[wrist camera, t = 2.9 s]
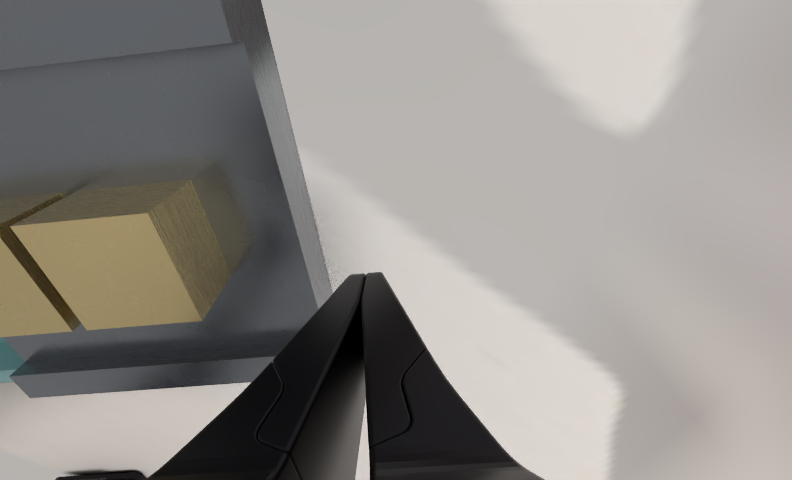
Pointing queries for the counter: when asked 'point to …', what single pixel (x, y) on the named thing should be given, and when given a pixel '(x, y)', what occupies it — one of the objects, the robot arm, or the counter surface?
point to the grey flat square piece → (163, 174)
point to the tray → (8, 361)
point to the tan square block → (129, 254)
